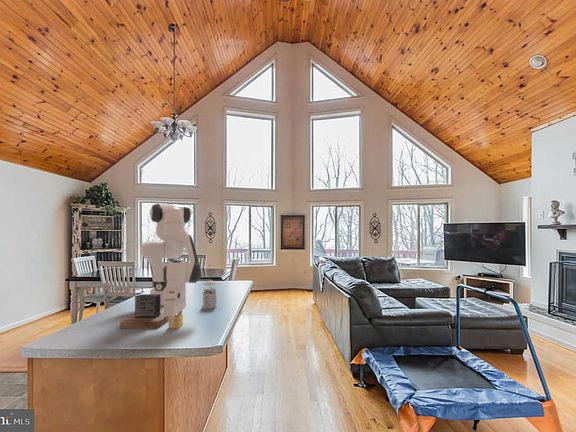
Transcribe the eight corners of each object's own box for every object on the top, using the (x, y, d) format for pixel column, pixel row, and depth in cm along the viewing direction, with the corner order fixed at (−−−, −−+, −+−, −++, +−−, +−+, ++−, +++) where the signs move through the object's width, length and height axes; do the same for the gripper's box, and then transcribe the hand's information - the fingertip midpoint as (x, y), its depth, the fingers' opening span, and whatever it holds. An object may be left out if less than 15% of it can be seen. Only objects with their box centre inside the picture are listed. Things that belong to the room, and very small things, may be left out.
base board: (137, 318, 181) (137, 312, 181) (172, 318, 180) (172, 312, 181) (119, 328, 163) (120, 321, 163) (158, 328, 162) (158, 321, 163)
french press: (214, 303, 216) (214, 263, 217) (222, 307, 206) (222, 264, 207) (198, 306, 210) (198, 264, 211) (206, 309, 201) (206, 265, 202)
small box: (161, 314, 176) (161, 293, 176) (155, 318, 169) (155, 296, 170) (140, 314, 176) (140, 293, 177) (134, 318, 170) (134, 296, 170)
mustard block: (172, 325, 168) (172, 314, 168) (182, 325, 168) (182, 314, 168) (168, 328, 163) (168, 317, 163) (179, 328, 163) (179, 317, 163)
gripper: (176, 288, 176) (176, 316, 176) (161, 296, 156) (161, 327, 155) (189, 288, 176) (189, 316, 176) (175, 296, 156) (175, 327, 155)
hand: (175, 322), depth 165 cm, fingers open, 8 cm apart
